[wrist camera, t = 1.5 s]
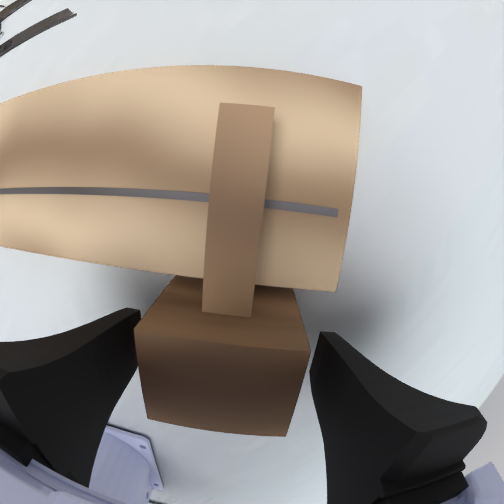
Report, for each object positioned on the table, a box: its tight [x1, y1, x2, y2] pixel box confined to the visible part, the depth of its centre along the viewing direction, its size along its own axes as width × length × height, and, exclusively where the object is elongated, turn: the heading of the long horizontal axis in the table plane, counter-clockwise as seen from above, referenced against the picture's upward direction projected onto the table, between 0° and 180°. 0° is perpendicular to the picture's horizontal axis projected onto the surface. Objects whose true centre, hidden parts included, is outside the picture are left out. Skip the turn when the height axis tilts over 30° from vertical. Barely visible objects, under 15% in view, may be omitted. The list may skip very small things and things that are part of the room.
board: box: [0, 65, 362, 292], centre depth 10 cm, size 8×22×2 cm, turn 84°
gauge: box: [134, 103, 311, 437], centre depth 9 cm, size 10×5×5 cm, turn 174°
